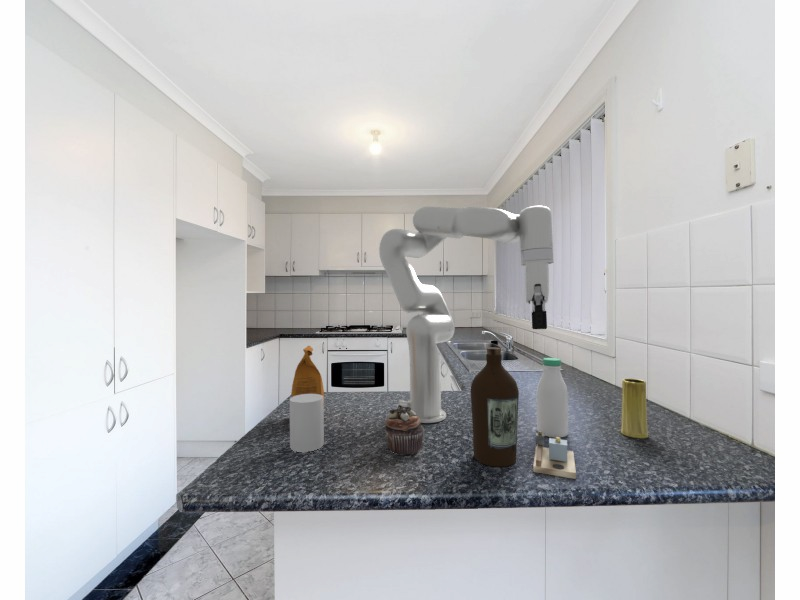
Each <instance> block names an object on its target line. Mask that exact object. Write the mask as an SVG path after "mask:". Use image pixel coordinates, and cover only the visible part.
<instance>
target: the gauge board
mask: <svg viewBox="0 0 800 600" xmlns="http://www.w3.org/2000/svg"><path fill="white" fill-rule="evenodd" d="M535 444H536V446H535V449H534V450H535V451H534V458H533V466H532V467H533V470H532V471H533V473H540V474H545V475H551V476H555V477H561V478H568V479H574V480H577V472H576V464H575V463H576V462H575V455H574V451H573V450H567V460H568V462H564V461H558V460H551V459H549V447H544V446H545V436H544V434H542V432H540V431H539V432H538V431H537V432H536V433H535Z"/></svg>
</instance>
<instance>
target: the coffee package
mask: <svg viewBox="0 0 800 600" xmlns="http://www.w3.org/2000/svg"><path fill="white" fill-rule="evenodd" d="M313 351H314V349H313V347H312V346H311V345H308V346H307V347H305V348H303V353H304V354H303V357H302V358H301V360H300V361H299V362H298V364H297V365H296V368H295V370H294V377H293V379H292V380H293V381H292V384H291V392H290V393H291V394H290V398H291V397H293V396H296V395H301V394H320V395H322V396H323V407H324V408H325V389H324V384H323V383H324V382H323V379H322V375H321V373H320V371H319V369H318V367H317V365H316V364H315V363H314V362H313V360H312V358H311V356H313Z"/></svg>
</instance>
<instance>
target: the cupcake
mask: <svg viewBox="0 0 800 600" xmlns="http://www.w3.org/2000/svg"><path fill="white" fill-rule="evenodd" d="M387 415H388V416H387V419H386V420H385V425H384V431H385V435H386V440H387V444H388V450H389V449H390V450H391V451H392V452H394V453H397V454H396V455H398V454H411V455H414V454H413V453H415V454H417V452H418V453H419V452H420V451H422V444H423V438H424V433H425V427H424V426H423V425H422V423H420V418H419V417H417V416H416V413H415V412H413V411H412V410H411V408H410V407H405V408H404V407H402V406H401V405H399V404H398V405H397V408H395V409H390V410H389V412H388V414H387ZM390 450H389V451H390ZM391 451H390V452H391ZM392 452H391V453H392ZM394 453H393V454H394Z"/></svg>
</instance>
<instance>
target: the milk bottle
mask: <svg viewBox="0 0 800 600" xmlns="http://www.w3.org/2000/svg"><path fill="white" fill-rule="evenodd" d="M542 367H543V370H542V374H541V375H540V379H539V381H538V383H537V388H536V430H537V433H538V432H539V431H540V432H542V434H544V437H549V438H553V439H556V437H559V438H561V439H562V438H566V437H567V436H568V434H569V397H568V396H569V395H568V388H567V384H566V383H565V381H564V378H563V376H562V373H561V368H562V360H561V359H560V358H557V357H544V358H542Z"/></svg>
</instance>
